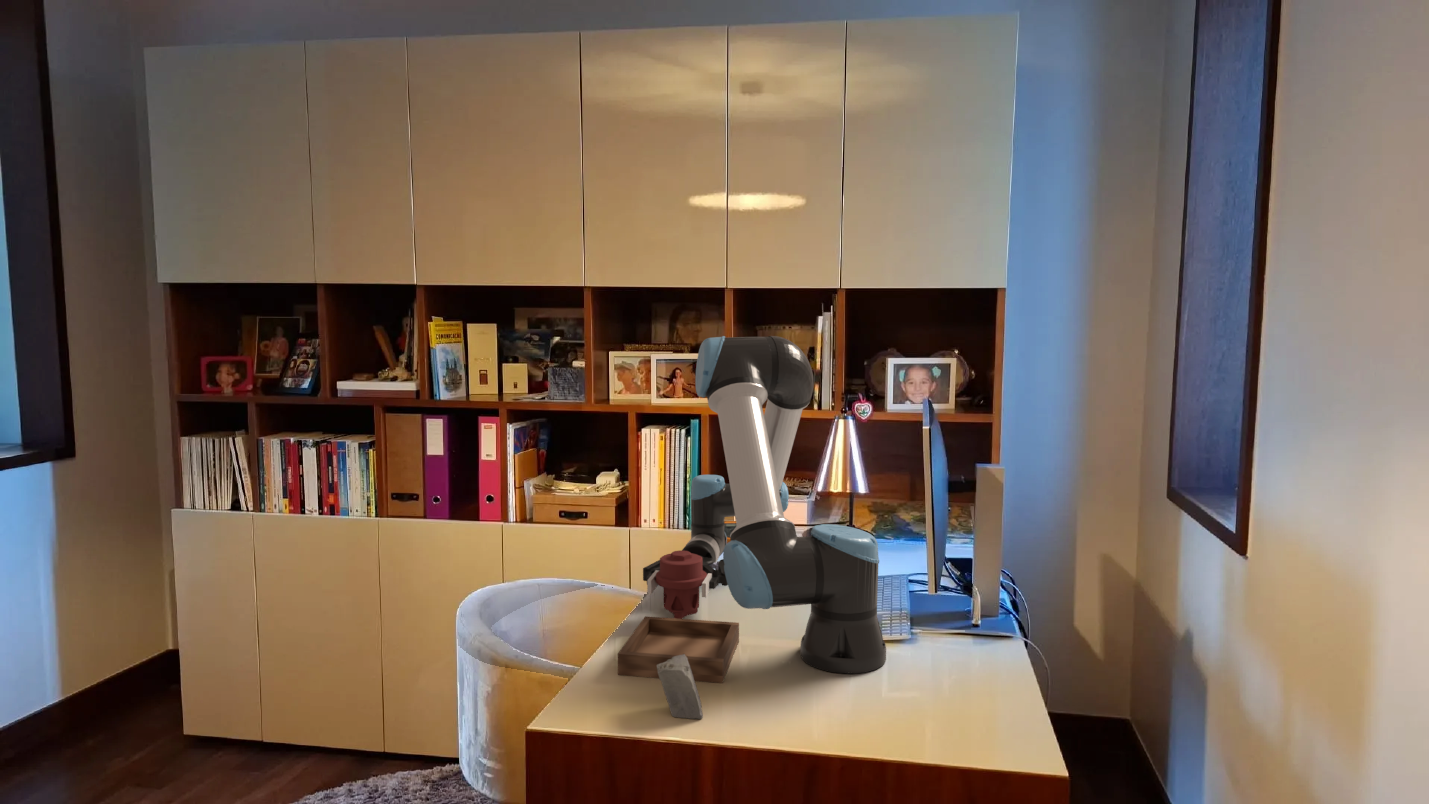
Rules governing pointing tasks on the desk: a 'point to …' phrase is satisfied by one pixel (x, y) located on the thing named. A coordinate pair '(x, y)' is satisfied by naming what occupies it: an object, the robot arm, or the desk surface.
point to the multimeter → (729, 528)
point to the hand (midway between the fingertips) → (676, 588)
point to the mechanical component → (681, 582)
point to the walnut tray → (680, 647)
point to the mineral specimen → (680, 688)
